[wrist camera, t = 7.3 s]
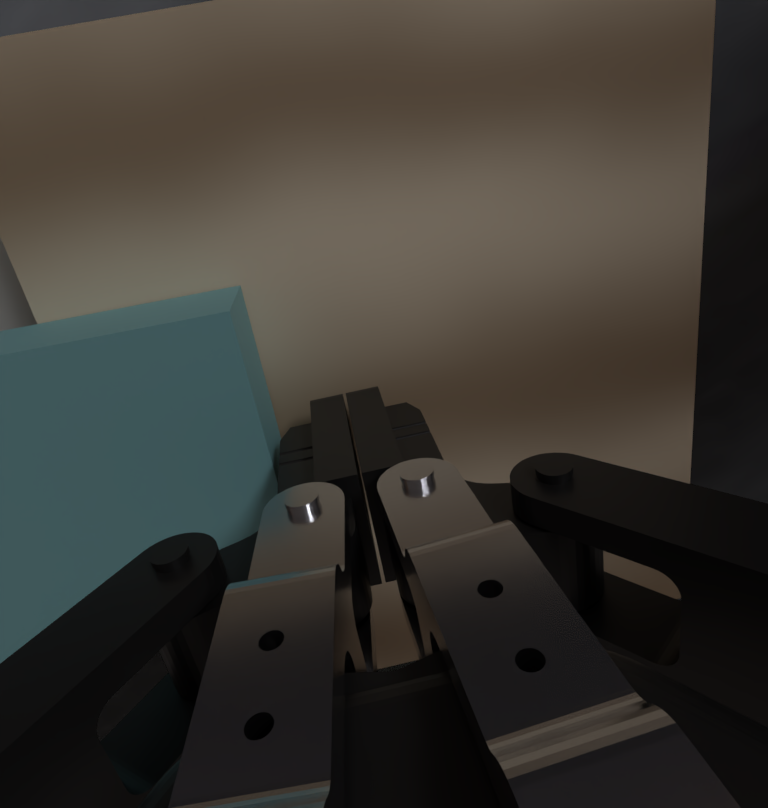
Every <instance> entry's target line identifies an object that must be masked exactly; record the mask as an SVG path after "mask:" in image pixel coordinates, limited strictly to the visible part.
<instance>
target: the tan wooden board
mask: <svg viewBox="0 0 768 808" xmlns="http://www.w3.org/2000/svg"><path fill="white" fill-rule="evenodd" d="M715 6H716V0H213V1H208V2H202V3H196V4H190V5H184V6H178V7H173V8H167V9H161V10H155V11H149V12H143V13H138V14H132V15H126V16H120V17H114V18H108V19H103V20H97V21H91V22H85V23H79V24H73V25H67V26H62V27H56V28H50V29H44V30H38V31H32V32H27V33H21V34H15V35H9V36H3V37H0V237H1V240H2V242H3V244H4V247H5V249H6V252H7V254H8V256H9V259H10V261H11V263H12V266H13V268H14V270H15V273H16V275H17V277H18V280H19V282H20V284H21V287H22V289H23V291H24V294H25V296H26V298H27V301H28V303H29V306H30V308H31V310H32V313H33V315H34V317H35V320H36V322H37V324H40V323H45V322H51V321H56V320H61V319H66V318H72V317H77V316H82V315H87V314H93V313H98V312H103V311H108V310H114V309H119V308H124V307H129V306H135V305H140V304H145V303H150V302H156V301H161V300H166V299H171V298H176V297H182V296H187V295H192V294H197V293H203V292H208V291H213V290H218V289H224V288H229V287H234V286H239V285H240V286H241V289H242V293H243V297H244V301H245V304H246V308H247V312H248V316H249V319H250V323H251V327H252V331H253V334H254V338H255V342H256V346H257V349H258V353H259V357H260V361H261V364H262V368H263V372H264V376H265V379H266V383H267V387H268V391H269V394H270V398H271V402H272V406H273V409H274V413H275V417H276V421H277V424H278V428H279V432H280V436H281V439H282V438H283V436H284V435H285V434H286V432H287V431H288V430H289V429H290V427H295V426H299V425H304V424H309V423H311V412H310V401H312V400H316V399H321V398H325V397H330V396H335V395H339V394H343V397H344V402H345V406H346V411H347V415H348V420H349V424H350V428H351V433H352V437H353V442H354V446H355V451H356V455H357V460H358V464H359V469H360V474H361V478H362V473H361V468H360V463H359V458H358V453H357V448H356V443H355V438H354V433H353V428H352V423H351V418H350V413H349V408H348V403H347V398H346V393H348V392H353V391H357V390H362V389H367V388H371V387H376V386H378V388H379V391H380V394H381V397H382V400H383V403H384V406H385V407H386V406H391V405H395V404H400V403H404V402H407V403H409V404H411V405H412V406H414V407H416V408H418V409H420V410H421V412H422V415H423V417H424V419H425V421H426V423H427V425H428V427H429V430H430V433H431V434H432V436H433V438H434V440H435V442H436V444H437V447H438V449H439V451H440V453H441V455H442V457H443V459H444V461H447V462H449V463H451V464H452V465H454V466H455V467H456V468H457V470H458V471H459V473H460V474H461V476H462V477H463V479H464V480H467V481H471V482H476V483H510V473H511V471H512V469H513V467H514V466H515V465H516V464H518V463H519V462H520V461H522V460H524V459H526V458H528V457H531V456H534V455H538V454H544V453H554V452H556V453H570V454H575V455H579V456H583V457H587V458H591V459H595V460H598V461H602V462H606V463H610V464H614V465H618V466H622V467H626V468H630V469H634V470H638V471H641V472H645V473H649V474H653V475H657V476H661V477H665V478H669V479H673V480H677V481H681V482H685V483H688V484H690V475H691V457H692V438H693V419H694V400H695V381H696V363H697V344H698V325H699V306H700V288H701V269H702V250H703V231H704V213H705V194H706V175H707V156H708V137H709V119H710V100H711V81H712V62H713V44H714V25H715ZM362 483H363V488H364V493H365V499H366V504H367V509H368V514H369V519H370V524H371V529H372V534H373V539H374V544H375V549H376V554H377V560H378V565H379V570H380V575H381V580H382V584H379V585H374V586H371V591H372V598H373V602H372V606H371V609H372V613H373V617H374V622H375V637H376V653H377V669H381V668H385V667H390V666H394V665H398V664H402V663H406V662H411V661H415V660H419V657H418V654H417V651H416V649H415V646H414V643H413V640H412V637H411V634H410V631H409V628H408V625H407V622H406V619H405V616H404V612H403V607H402V602H401V598H400V593H399V589H398V585H397V580H395V581H391V582H386V581H385V577H384V572H383V568H382V563H381V559H380V554H379V550H378V545H377V541H376V536H375V532H374V527H373V523H372V518H371V514H370V509H369V505H368V500H367V496H366V491H365V487H364V482H363V478H362ZM603 559H604V572H607V573H610V574H612V575H615V576H617V577H620V578H623V579H625V580H628V581H630V582H633V583H636V584H638V585H641V586H643V587H646V588H649V589H651V590H654V591H656V592H659V593H661V594H664V595H667V596H669V597H672V598H674V599H678V598H681V595H680V592H679V590H678V588H677V587H676V585H675V584H674V583H673V581H672V580H671V579H669V578H668V577H667V576H666V575H664V574H663V573H661V572H659V571H657V570H655V569H653V568H650V567H647V566H644V565H642V564H639V563H636V562H633V561H631V560H628V559H625V558H622V557H619V556H617V555H614V554H611V553H608V552H606V551H603Z"/></svg>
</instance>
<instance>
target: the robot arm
mask: <svg viewBox="0 0 768 808" xmlns="http://www.w3.org/2000/svg"><path fill="white" fill-rule="evenodd" d="M346 398H347V403H348V408H349V413H350V418H351V423H352V428H353V433H354V438H355V443H356V448H357V453H358V458H359V463H360V468H361V473H362V478H363V482H364V487H365V491H366V496H367V500H368V505H369V509H370V514H371V518H372V523H373V527H374V532H375V536H376V541H377V545H378V550H379V554H380V559H381V563H382V568H383V572H384V577H385V581H386V582H391V581H395V580H397V585H398V589H399V593H400V598H401V602H402V607H403V612H404V616H405V619H406V622H407V625H408V628H409V631H410V634H411V637H412V640H413V643H414V646H415V649H416V651H417V654H418V657H419V660H418V661H416V662H414V663H412V664H410V665H408V666H406V667H404V668H401V669H399V670H396V671H390V672H378V669H377V653H376V637H375V622H374V617H373V613H372V609H371V606H372V602H373V598H372V591H371V586H374V585H379V584H382V580H381V575H380V570H379V565H378V560H377V554H376V549H375V544H374V539H373V534H372V529H371V524H370V519H369V514H368V509H367V504H366V499H365V493H364V488H363V483H362V478H361V474H360V469H359V464H358V460H357V455H356V451H355V446H354V442H353V437H352V433H351V428H350V424H349V420H348V415H347V411H346V406H345V402H344V397H343V394H339V395H335V396H330V397H325V398H321V399H316V400H312V401H310V412H311V423H309V424H304V425H299V426H295V427H290V429H289V430H288V431H287V432H286V434H285V435H284V436H283V438H282V439H281V440H280V456H279V472H278V491H277V495H276V496H274V497H273V498H272V499H271V500H270V501H269V502H268V503H267V504H266V506H265V507H264V509H263V512H262V516H261V521H260V525H259V530H258V531H257V532H256V533H254V534H252V535H251V536H249V537H247V538H245V539H243V540H241V541H238V542H236V543H234V544H232V545H229V546H227V547H225V548H222V549H220V550H219V548H218V545H217V543H216V541H215V539H214V538H213V537H211V536H210V535H208V534H205V533H199V532H191V533H183V534H178V535H175V536H171V537H169V538H166V539H164V540H161V541H159V542H157V543H155V544H154V545H152V546H150V547H149V548H147V549H146V550H145V551H143V552H142V553H141V554H139V555H138V556H137V557H136V558H134V559H133V560H132V561H130V562H129V563H128V564H127V565H125V566H124V567H123V568H121V569H120V570H119V571H118V572H116V573H115V574H114V575H113V576H111V577H110V578H109V579H107V580H106V581H105V582H104V583H102V584H101V585H100V586H99V587H97V588H96V589H95V590H93V591H92V592H91V593H90V594H88V595H87V596H86V597H84V598H83V599H82V600H81V601H79V602H78V603H77V604H76V605H74V606H73V607H72V608H70V609H69V610H68V611H67V612H65V613H64V614H63V615H62V616H60V617H59V618H58V619H56V620H55V621H54V622H53V623H51V624H50V625H49V626H47V627H46V628H45V629H44V630H42V631H41V632H40V633H39V634H37V635H36V636H35V637H33V638H32V639H31V640H30V641H28V642H27V643H26V644H25V645H23V646H22V647H21V648H19V649H18V650H17V651H16V652H14V653H13V654H12V655H10V656H9V657H8V658H7V659H5V660H4V661H3V662H2V663H0V808H768V504H767V503H763V502H759V501H755V500H751V499H747V498H743V497H739V496H735V495H731V494H728V493H724V492H720V491H716V490H712V489H708V488H704V487H700V486H696V485H692V484H688V483H685V482H681V481H677V480H673V479H669V478H665V477H661V476H657V475H653V474H649V473H645V472H641V471H638V470H634V469H630V468H626V467H622V466H618V465H614V464H610V463H606V462H602V461H598V460H595V459H591V458H587V457H583V456H579V455H575V454H570V453H556V452H554V453H544V454H538V455H534V456H531V457H528V458H526V459H524V460H522V461H520V462H519V463H518V464H516V465H515V466H514V467H513V469H512V471H511V473H510V483H476V482H471V481H467V480H464V479H463V477H462V476H461V474H460V473H459V471H458V470H457V468H456V467H455V466H454V465H452V464H451V463H449V462H447V461H444V459H443V457H442V455H441V453H440V451H439V449H438V447H437V444H436V442H435V440H434V438H433V436H432V434H431V433H430V430H429V427H428V425H427V423H426V421H425V419H424V417H423V415H422V412H421V410H420V409H418V408H416V407H414V406H412V405H411V404H409V403H407V402H404V403H400V404H395V405H391V406H386V407H385V406H384V403H383V400H382V397H381V394H380V391H379V388H378V386H376V387H371V388H367V389H362V390H357V391H353V392H348V393H346ZM603 551H606V552H608V553H611V554H614V555H617V556H619V557H622V558H625V559H628V560H631V561H633V562H636V563H639V564H642V565H644V566H647V567H650V568H653V569H655V570H657V571H659V572H661V573H663V574H664V575H666V576H667V577H668V578H669V579H671V580H672V581H673V583H674V584H675V585H676V587H677V588H678V590H679V592H680V595H681V601H680V600H677V599H674V598H672V597H669V596H667V595H664V594H661V593H659V592H656V591H654V590H651V589H649V588H646V587H643V586H641V585H638V584H636V583H633V582H630V581H628V580H625V579H623V578H620V577H617V576H615V575H612V574H610V573H607V572H604V559H603ZM158 651H159V652H160V654H161V656H162V659H163V661H164V663H165V665H166V668H167V670H168V672H169V673H168V674H167V675H166V676H165V677H164V678H163V679H162V680H161V681H160V682H159V683H158V684H157V685H156V686H155V687H154V688H153V689H152V690H151V691H150V692H149V693H148V694H147V695H146V696H145V697H144V698H143V699H142V700H141V701H140V702H139V703H138V704H137V705H136V706H135V707H134V708H133V709H132V710H131V711H130V712H129V713H128V714H127V715H126V716H125V717H124V718H123V719H122V720H121V722H120V723H119V724H118V725H117V726H116V727H115V728H114V729H113V730H112V731H111V732H110V733H109V734H108V735H107V736H106V737H105V738H104V739H103V740H102V741H101V742H100V741H99V739H98V737H97V732H96V727H97V721H98V718H99V715H100V713H101V710H102V709H103V707H104V705H105V704H106V703H107V701H108V700H109V699H110V698H111V697H112V696H113V695H114V694H115V693H116V692H117V691H118V690H119V689H120V688H121V687H122V686H123V685H124V684H125V683H126V682H127V681H128V680H129V679H130V678H131V677H132V676H133V675H134V674H135V673H136V672H137V671H139V670H140V669H141V668H142V667H143V666H144V665H145V664H146V663H147V662H148V661H149V660H150V659H151V658H152V657H153V656H154V655H155V654H156V653H157V652H158Z"/></svg>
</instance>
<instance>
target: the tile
mask: <svg viewBox="0 0 768 808" xmlns="http://www.w3.org/2000/svg"><path fill="white" fill-rule="evenodd" d="M280 440H281V436H280V432H279V428H278V424H277V421H276V417H275V413H274V409H273V406H272V402H271V398H270V394H269V391H268V387H267V383H266V379H265V376H264V372H263V368H262V364H261V361H260V357H259V353H258V349H257V346H256V342H255V338H254V334H253V331H252V327H251V323H250V319H249V316H248V312H247V308H246V304H245V301H244V297H243V293H242V289H241V286H240V285H239V286H234V287H229V288H224V289H218V290H213V291H208V292H203V293H197V294H192V295H187V296H182V297H176V298H171V299H166V300H161V301H156V302H150V303H145V304H140V305H135V306H129V307H124V308H119V309H114V310H108V311H103V312H98V313H93V314H87V315H82V316H77V317H72V318H66V319H61V320H56V321H51V322H45V323H40V324H35V325H30V326H24V327H19V328H14V329H9V330H3V331H0V663H2V662H3V661H4V660H5V659H7V658H8V657H9V656H10V655H12V654H13V653H14V652H16V651H17V650H18V649H19V648H21V647H22V646H23V645H25V644H26V643H27V642H28V641H30V640H31V639H32V638H33V637H35V636H36V635H37V634H39V633H40V632H41V631H42V630H44V629H45V628H46V627H47V626H49V625H50V624H51V623H53V622H54V621H55V620H56V619H58V618H59V617H60V616H62V615H63V614H64V613H65V612H67V611H68V610H69V609H70V608H72V607H73V606H74V605H76V604H77V603H78V602H79V601H81V600H82V599H83V598H84V597H86V596H87V595H88V594H90V593H91V592H92V591H93V590H95V589H96V588H97V587H99V586H100V585H101V584H102V583H104V582H105V581H106V580H107V579H109V578H110V577H111V576H113V575H114V574H115V573H116V572H118V571H119V570H120V569H121V568H123V567H124V566H125V565H127V564H128V563H129V562H130V561H132V560H133V559H134V558H136V557H137V556H138V555H139V554H141V553H142V552H143V551H145V550H146V549H147V548H149V547H150V546H152V545H154V544H155V543H157V542H159V541H161V540H164V539H166V538H169V537H171V536H175V535H178V534H183V533H191V532H199V533H205V534H208V535H210V536H211V537H213V538H214V539H215V541H216V543H217V545H218V548H219V550H220V549H222V548H225V547H227V546H229V545H232V544H234V543H236V542H238V541H241V540H243V539H245V538H247V537H249V536H251V535H252V534H254V533H256V532H257V531H258V530H259V525H260V521H261V516H262V512H263V509H264V507H265V506H266V504H267V503H268V502H269V501H270V500H271V499H272V498H273V497H274V496H276V495H277V491H278V472H279V456H280Z"/></svg>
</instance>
